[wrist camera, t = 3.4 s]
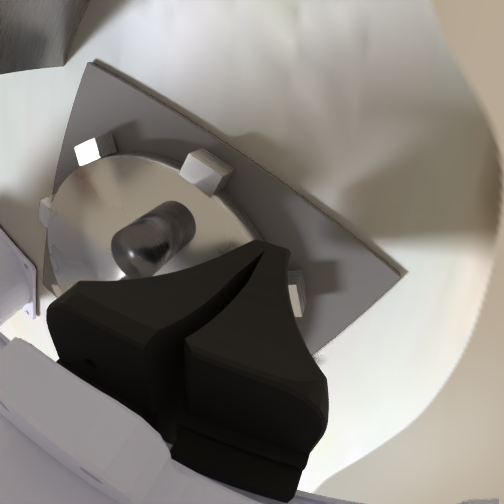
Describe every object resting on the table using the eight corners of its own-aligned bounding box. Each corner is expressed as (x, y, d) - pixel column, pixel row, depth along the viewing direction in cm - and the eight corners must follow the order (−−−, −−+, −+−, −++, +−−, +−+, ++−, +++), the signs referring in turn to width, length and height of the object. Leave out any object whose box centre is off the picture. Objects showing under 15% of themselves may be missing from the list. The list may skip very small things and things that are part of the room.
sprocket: (44, 285, 22) (8, 313, 18) (85, 74, 13) (17, 83, 9) (213, 420, 22) (190, 463, 19) (384, 282, 13) (386, 352, 9)
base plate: (45, 281, 23) (41, 284, 22) (91, 62, 13) (85, 62, 12) (219, 419, 23) (217, 423, 22) (400, 274, 13) (401, 278, 13)
